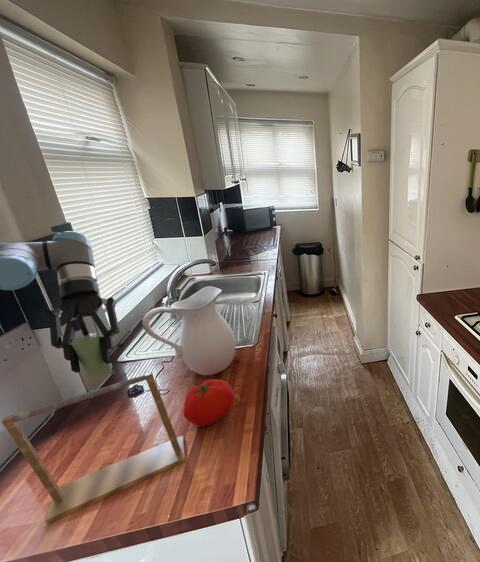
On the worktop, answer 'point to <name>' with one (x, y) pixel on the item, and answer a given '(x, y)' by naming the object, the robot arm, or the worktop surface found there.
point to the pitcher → (199, 332)
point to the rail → (109, 477)
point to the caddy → (88, 349)
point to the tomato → (208, 402)
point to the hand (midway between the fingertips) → (91, 366)
